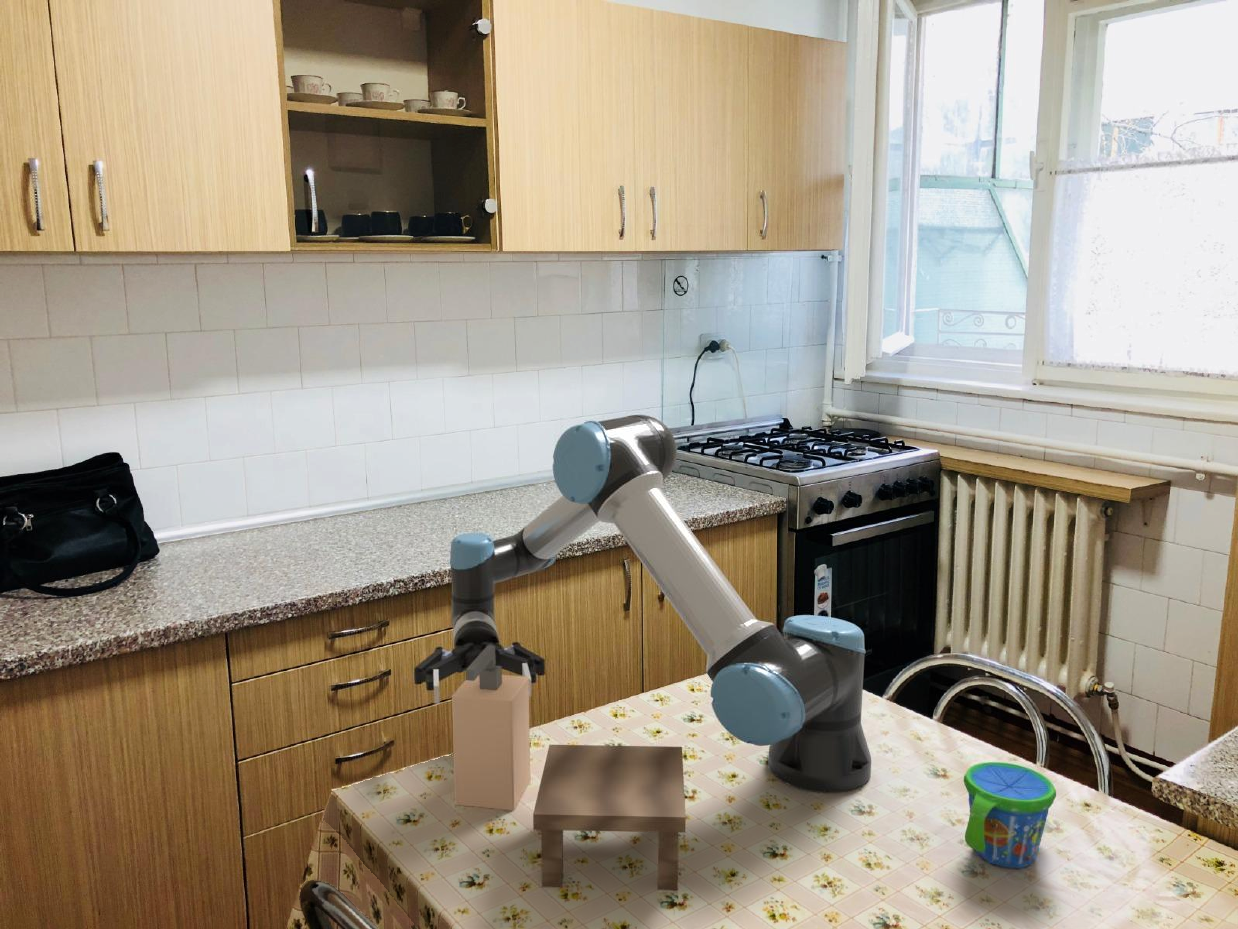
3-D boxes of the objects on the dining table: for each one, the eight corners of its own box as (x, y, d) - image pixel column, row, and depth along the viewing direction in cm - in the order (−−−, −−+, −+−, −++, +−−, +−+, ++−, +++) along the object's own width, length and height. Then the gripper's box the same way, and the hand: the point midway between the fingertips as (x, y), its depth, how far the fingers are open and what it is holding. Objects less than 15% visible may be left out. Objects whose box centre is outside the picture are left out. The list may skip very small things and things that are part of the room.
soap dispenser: (474, 775, 147) (470, 634, 143) (530, 781, 145) (528, 638, 141) (444, 820, 135) (438, 667, 131) (504, 827, 133) (501, 672, 129)
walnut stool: (681, 814, 136) (681, 746, 134) (684, 894, 118) (685, 817, 117) (550, 812, 137) (549, 744, 135) (534, 891, 119) (533, 814, 117)
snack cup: (1006, 817, 135) (1011, 748, 133) (1078, 854, 127) (1084, 780, 125) (930, 853, 127) (934, 780, 125) (1001, 895, 118) (1007, 817, 116)
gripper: (549, 657, 171) (566, 708, 150) (401, 667, 166) (398, 721, 146) (549, 615, 169) (566, 661, 149) (399, 624, 165) (396, 673, 144)
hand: (483, 691), depth 147 cm, fingers open, 13 cm apart
